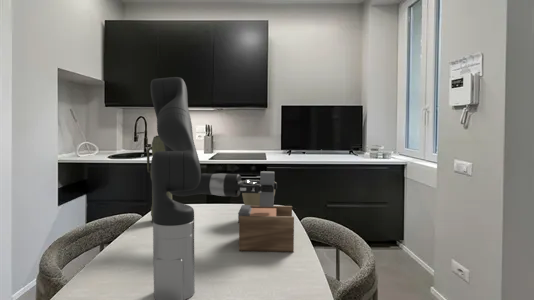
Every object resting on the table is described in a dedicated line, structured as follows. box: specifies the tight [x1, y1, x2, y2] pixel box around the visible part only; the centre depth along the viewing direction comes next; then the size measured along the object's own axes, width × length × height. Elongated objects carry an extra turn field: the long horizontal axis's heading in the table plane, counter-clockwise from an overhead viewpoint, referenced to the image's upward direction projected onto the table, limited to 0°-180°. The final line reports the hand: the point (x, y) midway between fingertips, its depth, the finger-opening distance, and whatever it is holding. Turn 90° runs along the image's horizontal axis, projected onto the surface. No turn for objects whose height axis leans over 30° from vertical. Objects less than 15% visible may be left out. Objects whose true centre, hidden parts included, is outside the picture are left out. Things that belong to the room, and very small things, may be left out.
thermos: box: [146, 135, 173, 224], centre depth 151 cm, size 9×12×35 cm
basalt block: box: [259, 170, 275, 207], centre depth 122 cm, size 4×4×11 cm
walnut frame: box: [238, 205, 295, 253], centre depth 123 cm, size 16×17×11 cm
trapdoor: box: [237, 204, 276, 224], centre depth 123 cm, size 13×12×3 cm
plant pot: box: [241, 181, 277, 206], centre depth 154 cm, size 15×15×16 cm
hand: (275, 187), depth 122 cm, fingers closed on basalt block, 5 cm apart
